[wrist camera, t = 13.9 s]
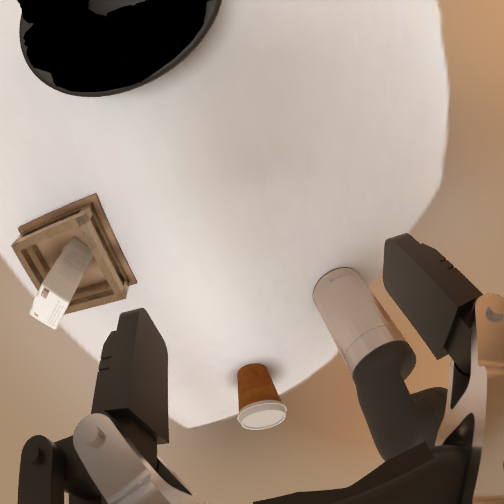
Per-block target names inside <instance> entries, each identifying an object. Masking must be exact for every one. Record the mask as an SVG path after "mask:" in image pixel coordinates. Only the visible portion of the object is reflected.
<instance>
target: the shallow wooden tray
mask: <svg viewBox="0 0 504 504" xmlns="http://www.w3.org/2000/svg"><path fill="white" fill-rule="evenodd" d="M76 227H79V228H80V230H81V232H82V234H83V236H84V238H85V240H86V242H87V244H88V246H89V248H90V250H91V252H92V254H93V256H94V258H95V259H96V261H97V263H98V265H99V267H100V269H101V271H102V272H103V274H104V276H105V278H106V281H103V282H99V283H96V284H92V285H89V286H86V287H82V288H79V289H76V291H75V293H74V295H73V297H72V299H71V301H70V303H69V305H68V307H67V309H66V311H65V313H64V314H68V313H72V312H76V311H80V310H84V309H88V308H92V307H96V306H99V305H103V304H107V303H111V302H115V301H119V300H123V299H126V295H127V291H128V287H129V283H130V280H129V278H128V276H127V274H126V272H125V270H124V268H123V266H122V264H121V262H120V260H119V258H118V256H117V254H116V252H115V250H114V248H113V246H112V244H111V242H110V240H109V238H108V236H107V233H106V231H105V229H104V227H103V225H102V223H101V220H100V218H99V216H98V214H97V211H96V209H95V207H94V204H93V202H91V203H88V204H86V205H83V206H81V207H78V208H76V209H73V210H71V211H68V212H66V213H64V214H61V215H59V216H57V217H54V218H52V219H50V220H47V221H45V222H43V223H41V224H38V225H36V226H34V227H32V228H30V229H28V230H25V231H23V232H22V234H21V235H20V236H19V237H18V238H17V239H16V241H15V242H14V243H13V244H12V245H11V246H12V248H13V250H14V252H15V253H16V255H17V257H18V259H19V261H20V262H21V264H22V266H23V267H24V269H25V271H26V272H27V274H28V276H29V277H30V279H31V281H32V282H33V284H34V285H35V287H36V288H37V290H38V291H39V289H40V286H41V284H42V282H43V281H44V279H45V277H46V276H47V274H48V273H49V271H50V268H49V266H48V264H47V263H46V261H45V259H44V257H43V256H42V254H41V252H40V250H39V248H38V246H37V244H36V243H39V242H41V241H43V240H46V239H48V238H51V237H53V236H56V235H58V234H61V233H63V232H66V231H68V230H71V229H73V228H76ZM30 256H31V257H30ZM34 263H35V264H34Z"/></svg>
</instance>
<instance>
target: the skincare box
mask: <svg viewBox="0 0 504 504" xmlns="http://www.w3.org/2000/svg"><path fill="white" fill-rule="evenodd" d="M92 258H93V254H92V252H91V250H90V248H89V247H88V246H87V245H85V244H84V243H82V242H81V241H79V240H78V239H76V238H75V237H73V238H72V239H71V240H70V242H69V243H68V245H67V246H66V247H65V249H64V250H63V252H62V253H61V255H60V256H59V258H58V259H57V261H56V262H55V263H54V265H53V266H52V268H51V270H50V271H49V273H48V274H47V276H46V277H45V279H44V281H43V282H42V284H41V286H40V289H39V291H38V293H37V296H36V297H35V299H34V302H33V305H32V307H31V310H30V315H32V316H33V317H35V318H36V319H38V320H40V321H41V322H43V323H44V324H46V325H47V326H49V327H51V328H53V329H56V328H57V326H58V324H59V322H60V320H61V318H62V317H63V315H64V313H65V311H66V309H67V307H68V305H69V303H70V301H71V299H72V297H73V295H74V293H75V291H76V289H77V287H78V285H79V283H80V281H81V279H82V277H83V275H84V273H85V271H86V269H87V267H88V265H89V263H90V261H91V259H92Z"/></svg>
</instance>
